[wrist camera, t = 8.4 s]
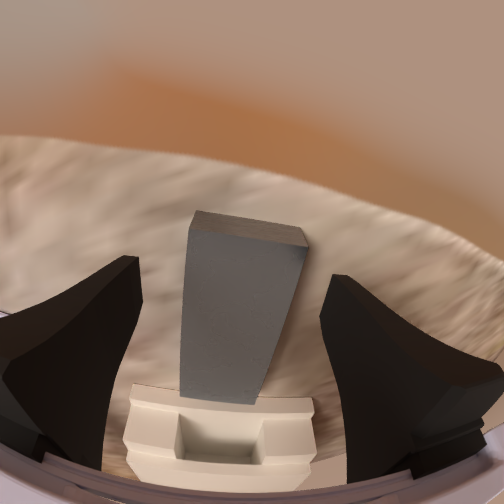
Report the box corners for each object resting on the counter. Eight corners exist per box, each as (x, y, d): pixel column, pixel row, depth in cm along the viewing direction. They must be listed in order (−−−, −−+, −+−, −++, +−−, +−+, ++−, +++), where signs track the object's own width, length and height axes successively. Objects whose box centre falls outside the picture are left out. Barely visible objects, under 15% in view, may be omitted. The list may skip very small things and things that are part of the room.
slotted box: (280, 455, 27) (283, 499, 22) (155, 446, 26) (148, 490, 21) (311, 397, 21) (323, 460, 16) (133, 383, 20) (116, 445, 15)
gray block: (184, 368, 19) (179, 396, 17) (197, 207, 14) (188, 228, 12) (253, 377, 20) (254, 405, 18) (298, 224, 14) (308, 246, 12)
